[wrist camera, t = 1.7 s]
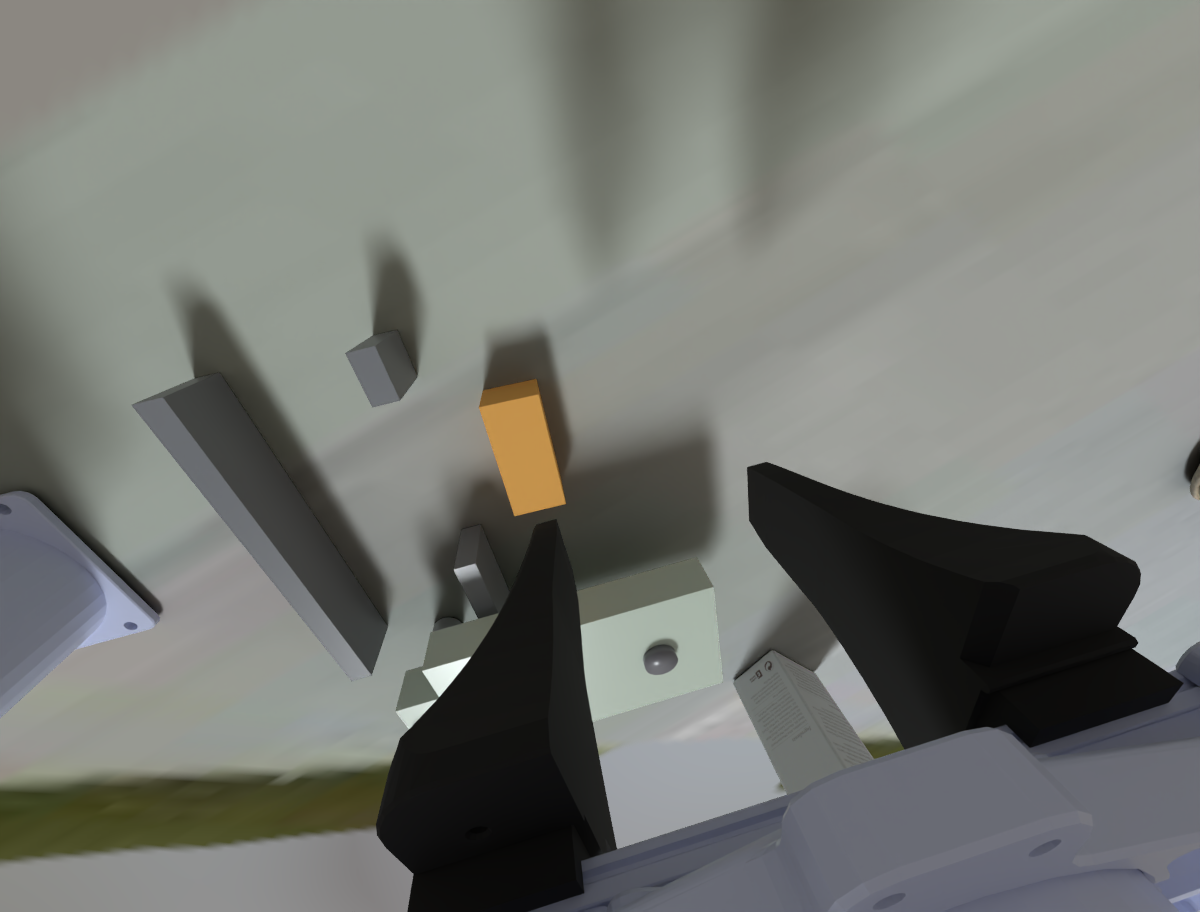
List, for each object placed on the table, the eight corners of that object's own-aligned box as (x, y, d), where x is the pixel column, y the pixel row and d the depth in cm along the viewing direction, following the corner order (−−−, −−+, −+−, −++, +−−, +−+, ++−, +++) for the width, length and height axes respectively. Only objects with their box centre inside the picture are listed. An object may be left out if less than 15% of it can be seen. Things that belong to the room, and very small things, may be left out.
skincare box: (729, 682, 32) (835, 902, 21) (771, 646, 31) (904, 860, 20) (776, 703, 34) (892, 910, 24) (817, 672, 33) (956, 873, 22)
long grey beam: (370, 632, 24) (351, 681, 21) (193, 378, 16) (131, 404, 14) (509, 592, 24) (508, 636, 21) (397, 329, 17) (374, 346, 14)
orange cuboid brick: (514, 489, 21) (514, 516, 19) (483, 388, 19) (479, 407, 17) (561, 478, 22) (565, 503, 19) (536, 377, 19) (538, 394, 17)
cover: (405, 589, 23) (371, 693, 17) (673, 515, 23) (717, 593, 18) (453, 669, 26) (437, 777, 21) (686, 602, 27) (726, 689, 22)
